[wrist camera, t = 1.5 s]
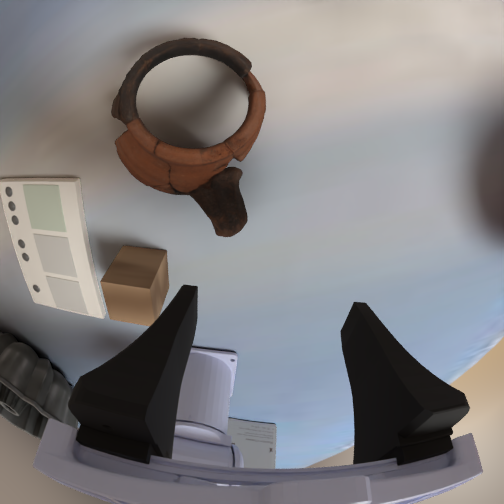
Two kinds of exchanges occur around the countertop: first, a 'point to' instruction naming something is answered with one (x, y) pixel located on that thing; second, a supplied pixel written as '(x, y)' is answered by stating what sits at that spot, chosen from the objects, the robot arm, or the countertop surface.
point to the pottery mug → (186, 159)
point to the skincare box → (254, 442)
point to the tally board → (53, 242)
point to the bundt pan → (31, 389)
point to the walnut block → (136, 285)
